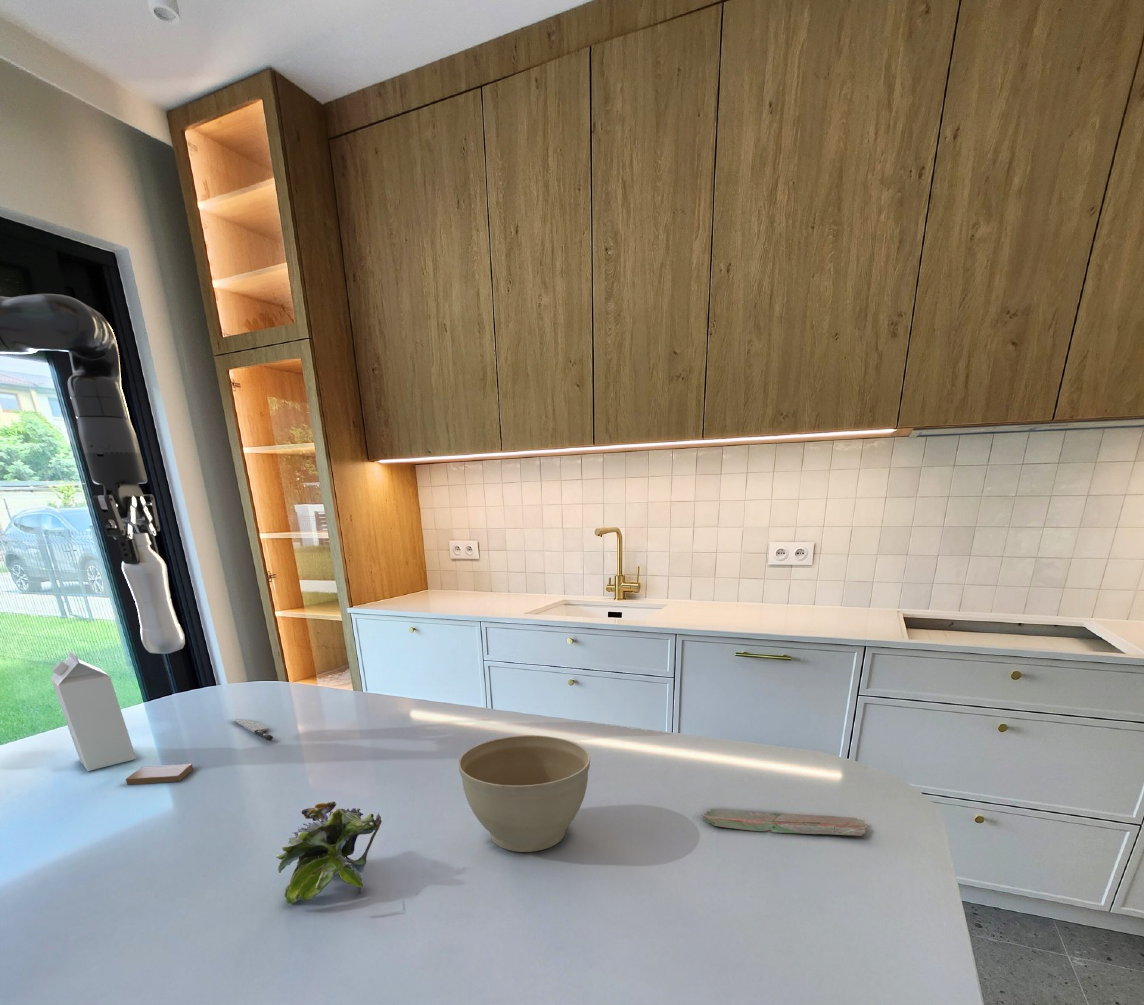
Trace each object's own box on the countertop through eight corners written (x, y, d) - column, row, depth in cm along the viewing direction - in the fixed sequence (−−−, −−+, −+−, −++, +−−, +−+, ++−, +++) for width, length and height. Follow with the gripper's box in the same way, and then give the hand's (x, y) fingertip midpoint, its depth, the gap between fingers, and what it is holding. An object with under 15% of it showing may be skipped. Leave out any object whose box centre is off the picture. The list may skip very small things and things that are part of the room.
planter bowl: (527, 884, 74) (522, 798, 69) (440, 839, 84) (431, 761, 80) (617, 831, 84) (616, 753, 80) (530, 796, 95) (526, 726, 90)
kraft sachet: (127, 784, 103) (125, 779, 103) (143, 772, 108) (141, 766, 107) (179, 781, 104) (177, 775, 103) (193, 769, 108) (191, 763, 108)
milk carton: (126, 749, 118) (93, 645, 110) (136, 759, 113) (102, 651, 105) (79, 761, 113) (41, 653, 106) (88, 772, 108) (48, 660, 101)
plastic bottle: (136, 657, 113) (101, 535, 105) (165, 648, 119) (133, 532, 111) (169, 657, 112) (136, 534, 104) (196, 648, 118) (167, 532, 110)
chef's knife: (247, 717, 133) (232, 720, 131) (246, 712, 132) (231, 715, 130) (284, 739, 120) (268, 742, 118) (283, 733, 120) (267, 736, 118)
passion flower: (338, 905, 80) (364, 810, 82) (389, 923, 73) (416, 819, 75) (248, 894, 72) (280, 789, 74) (297, 913, 65) (330, 796, 67)
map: (702, 812, 89) (702, 806, 89) (862, 817, 84) (863, 811, 84) (700, 830, 85) (700, 824, 84) (870, 836, 80) (870, 829, 80)
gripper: (113, 454, 109) (141, 558, 116) (58, 449, 96) (94, 567, 103) (159, 453, 110) (185, 556, 116) (111, 448, 97) (143, 565, 103)
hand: (142, 561), depth 109 cm, fingers closed on plastic bottle, 6 cm apart
